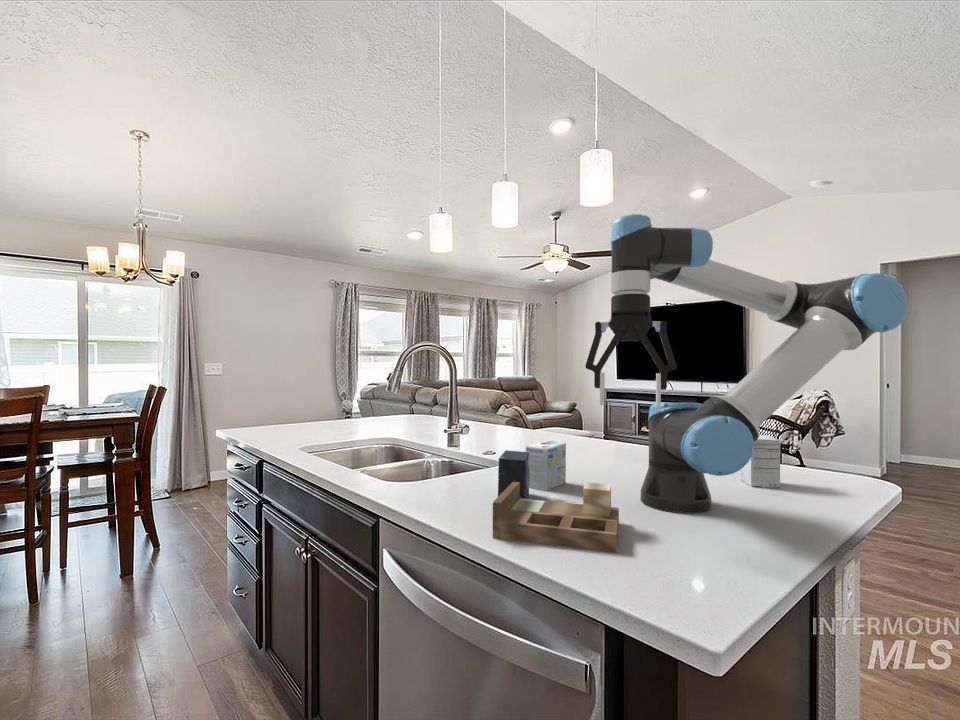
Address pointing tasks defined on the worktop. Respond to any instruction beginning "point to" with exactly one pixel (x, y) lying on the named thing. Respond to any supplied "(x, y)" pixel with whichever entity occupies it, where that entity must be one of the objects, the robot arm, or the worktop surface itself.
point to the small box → (514, 471)
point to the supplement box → (763, 463)
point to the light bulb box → (547, 465)
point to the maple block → (597, 499)
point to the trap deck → (552, 522)
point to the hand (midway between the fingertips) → (629, 405)
